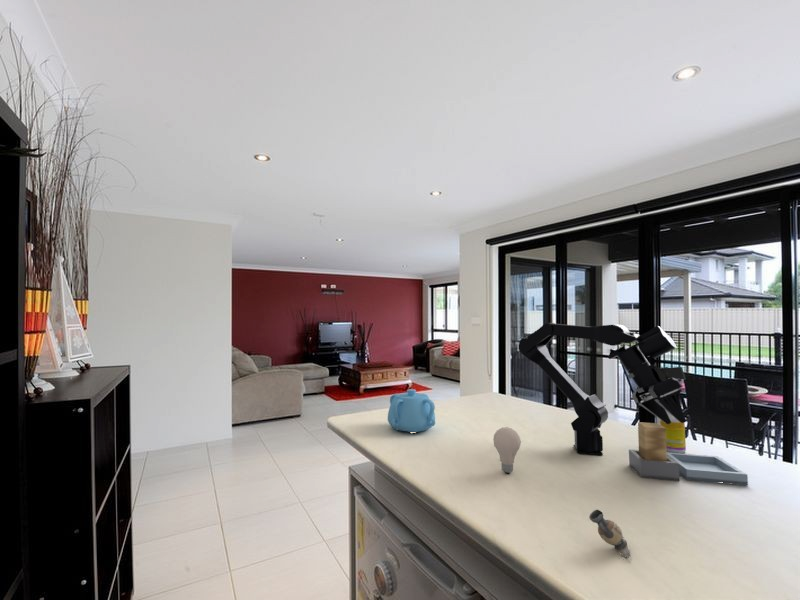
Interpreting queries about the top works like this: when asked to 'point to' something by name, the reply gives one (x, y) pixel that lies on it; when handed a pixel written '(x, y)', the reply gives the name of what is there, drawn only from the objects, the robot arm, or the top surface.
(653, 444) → the peg
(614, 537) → the vase
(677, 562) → the top surface
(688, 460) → the tray
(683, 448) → the supplement bottle
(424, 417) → the decorative pot
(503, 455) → the light bulb
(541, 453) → the top surface
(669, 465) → the socket
